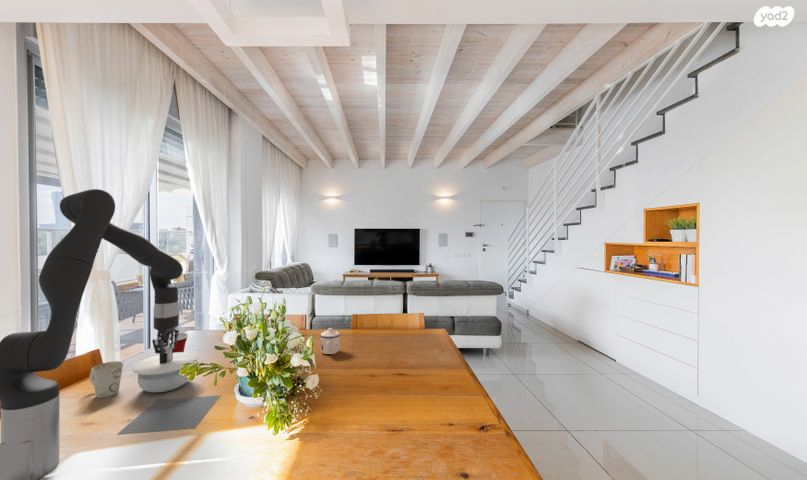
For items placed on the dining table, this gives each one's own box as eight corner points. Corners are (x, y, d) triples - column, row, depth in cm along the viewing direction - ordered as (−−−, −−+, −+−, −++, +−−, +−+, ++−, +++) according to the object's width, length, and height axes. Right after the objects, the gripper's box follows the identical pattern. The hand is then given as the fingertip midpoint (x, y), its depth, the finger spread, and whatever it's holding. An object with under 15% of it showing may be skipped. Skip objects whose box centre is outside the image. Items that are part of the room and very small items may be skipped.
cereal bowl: (147, 382, 127) (147, 363, 127) (197, 376, 133) (198, 358, 133) (129, 403, 111) (129, 382, 111) (187, 395, 117) (187, 375, 117)
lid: (182, 373, 114) (182, 355, 114) (119, 376, 111) (119, 358, 111) (205, 353, 133) (205, 338, 133) (152, 356, 130) (152, 340, 130)
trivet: (195, 430, 96) (195, 428, 96) (116, 436, 93) (116, 434, 93) (220, 397, 116) (220, 395, 116) (157, 401, 113) (157, 399, 113)
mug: (104, 400, 113) (104, 371, 113) (75, 396, 115) (75, 368, 115) (129, 389, 121) (129, 362, 121) (101, 386, 123) (101, 359, 123)
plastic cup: (174, 367, 141) (174, 339, 141) (152, 365, 143) (152, 338, 143) (194, 358, 152) (194, 332, 152) (173, 356, 154) (173, 330, 153)
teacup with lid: (322, 349, 166) (322, 325, 166) (340, 349, 167) (340, 325, 166) (317, 358, 154) (317, 332, 154) (337, 357, 155) (337, 332, 155)
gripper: (167, 319, 116) (167, 368, 116) (186, 310, 130) (186, 354, 130) (143, 319, 114) (143, 369, 115) (165, 310, 128) (165, 355, 128)
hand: (166, 361), depth 122 cm, fingers closed on lid, 3 cm apart
